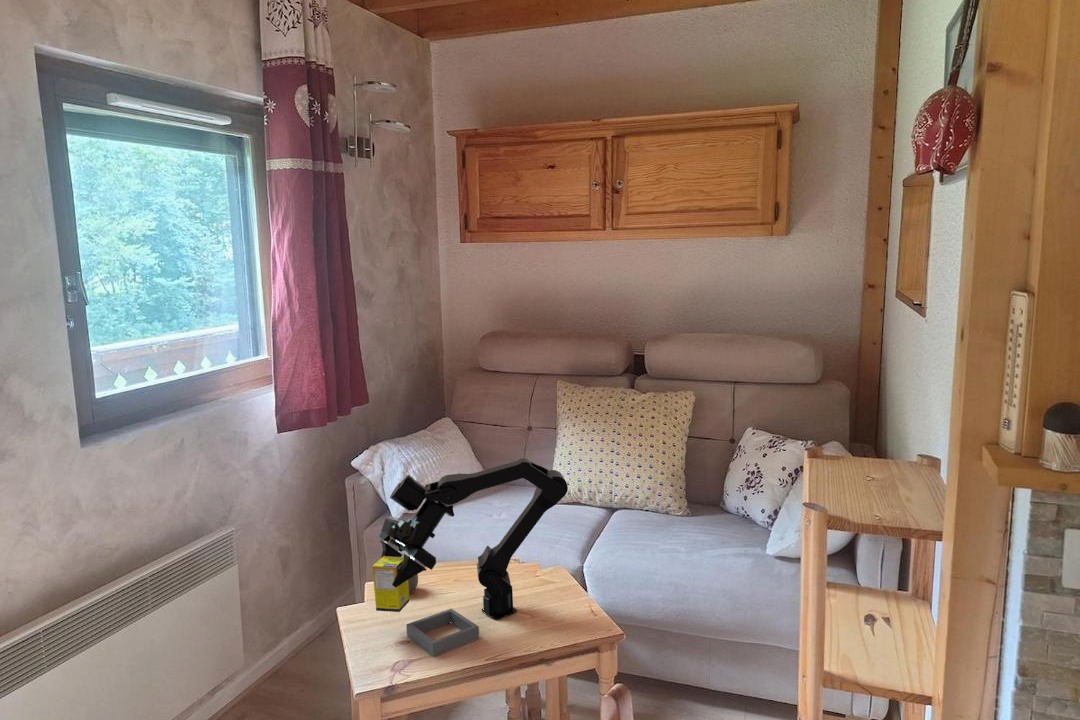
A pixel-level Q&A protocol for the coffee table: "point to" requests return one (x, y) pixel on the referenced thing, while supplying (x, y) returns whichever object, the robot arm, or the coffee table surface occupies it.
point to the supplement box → (389, 585)
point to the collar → (448, 642)
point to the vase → (413, 583)
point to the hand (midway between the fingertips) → (385, 580)
